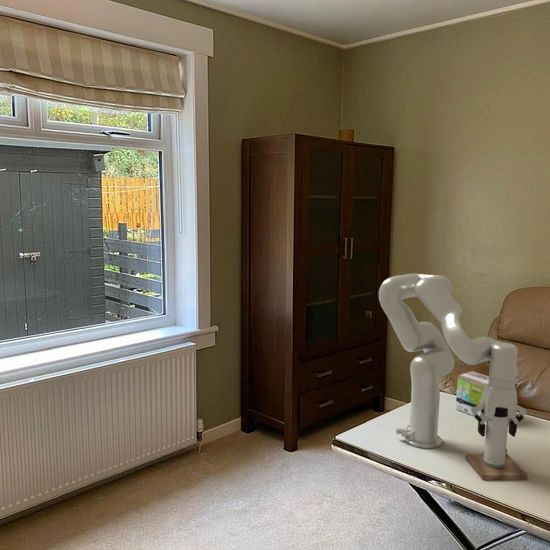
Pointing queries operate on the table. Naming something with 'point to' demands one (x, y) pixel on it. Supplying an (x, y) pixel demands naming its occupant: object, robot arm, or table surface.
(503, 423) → the travel mug
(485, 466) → the walnut board
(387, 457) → the table surface
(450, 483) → the table surface
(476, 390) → the tea box
